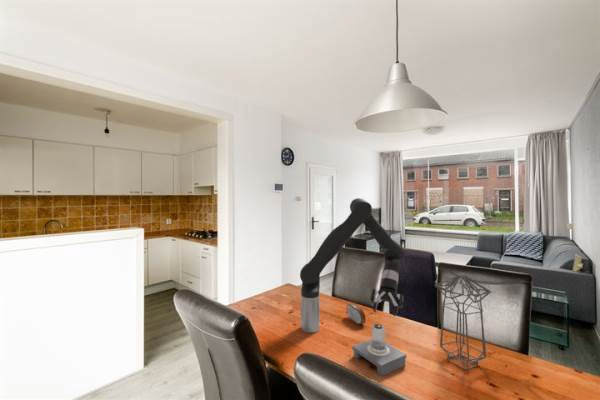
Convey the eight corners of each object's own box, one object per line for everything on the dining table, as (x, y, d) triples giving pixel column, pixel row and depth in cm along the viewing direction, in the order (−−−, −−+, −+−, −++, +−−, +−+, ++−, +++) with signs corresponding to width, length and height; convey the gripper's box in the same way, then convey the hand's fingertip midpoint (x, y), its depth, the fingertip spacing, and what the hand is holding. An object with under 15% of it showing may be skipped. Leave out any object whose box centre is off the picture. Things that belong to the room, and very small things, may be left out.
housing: (366, 347, 112) (366, 324, 112) (378, 343, 115) (377, 321, 115) (378, 355, 106) (378, 331, 106) (390, 350, 109) (390, 327, 110)
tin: (366, 326, 141) (365, 310, 141) (361, 327, 140) (360, 311, 140) (350, 315, 155) (350, 300, 155) (345, 316, 154) (345, 301, 154)
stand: (352, 355, 114) (352, 345, 114) (376, 346, 121) (376, 336, 121) (381, 376, 100) (381, 364, 100) (406, 365, 107) (406, 353, 107)
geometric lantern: (432, 356, 113) (431, 272, 115) (459, 349, 119) (458, 269, 120) (467, 378, 99) (466, 281, 100) (496, 369, 104) (494, 277, 105)
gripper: (373, 275, 132) (366, 306, 122) (404, 279, 125) (400, 313, 115) (376, 283, 137) (370, 314, 127) (406, 287, 130) (402, 320, 120)
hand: (384, 313), depth 121 cm, fingers open, 8 cm apart
